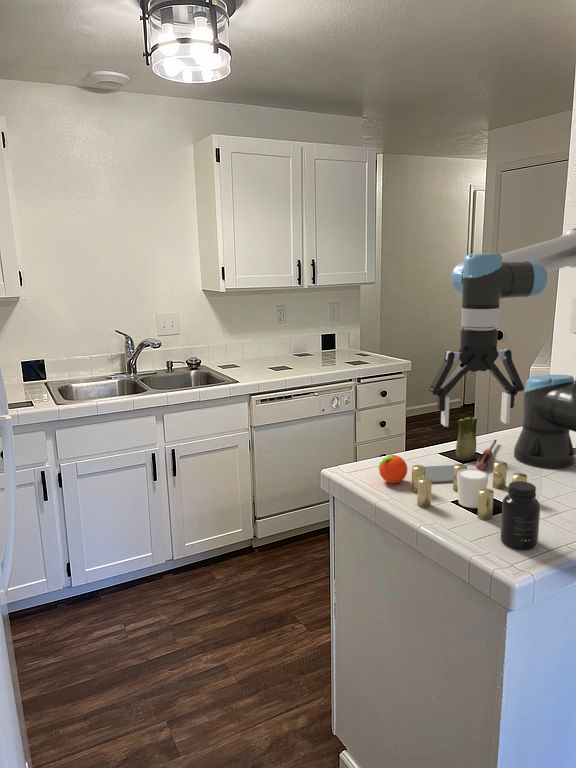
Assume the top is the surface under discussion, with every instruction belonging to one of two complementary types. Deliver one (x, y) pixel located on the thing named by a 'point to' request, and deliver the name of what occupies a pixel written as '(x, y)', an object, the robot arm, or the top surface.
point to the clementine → (393, 469)
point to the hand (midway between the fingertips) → (474, 423)
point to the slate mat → (440, 473)
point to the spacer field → (485, 495)
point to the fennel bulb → (466, 439)
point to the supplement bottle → (520, 516)
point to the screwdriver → (485, 458)
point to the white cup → (470, 486)
